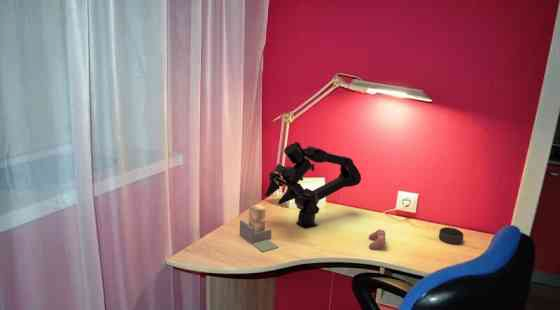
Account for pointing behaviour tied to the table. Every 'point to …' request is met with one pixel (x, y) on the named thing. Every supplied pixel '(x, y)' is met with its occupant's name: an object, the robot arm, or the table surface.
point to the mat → (265, 245)
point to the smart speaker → (451, 235)
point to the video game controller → (377, 239)
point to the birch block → (257, 217)
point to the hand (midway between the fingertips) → (272, 199)
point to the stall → (249, 234)
